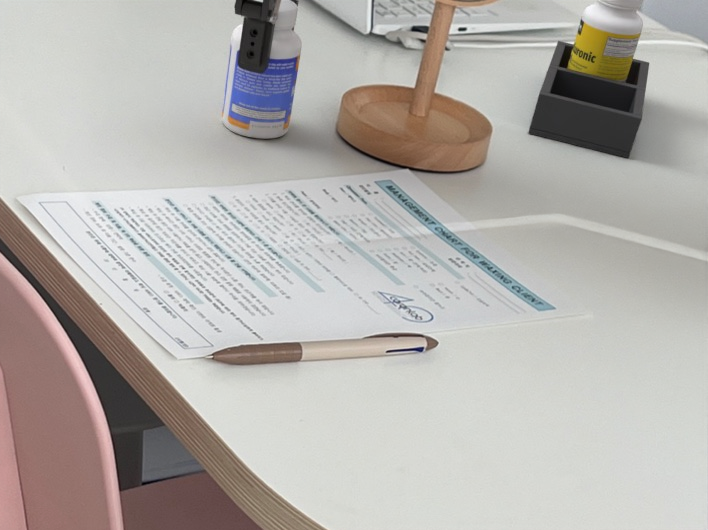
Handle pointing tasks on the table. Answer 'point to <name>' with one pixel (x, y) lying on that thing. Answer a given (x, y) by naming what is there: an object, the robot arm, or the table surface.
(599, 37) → the supplement bottle
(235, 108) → the pill bottle
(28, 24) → the table surface
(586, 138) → the sorting tray
